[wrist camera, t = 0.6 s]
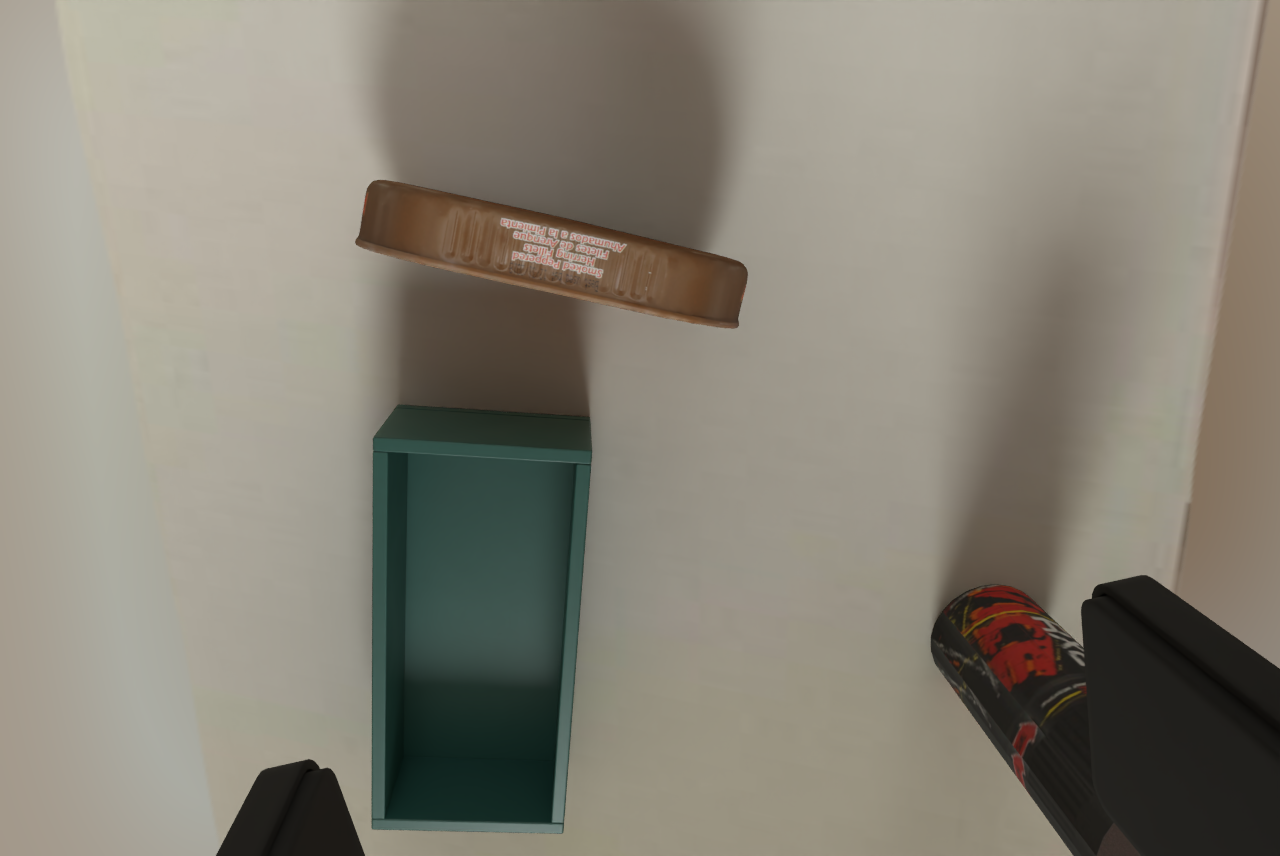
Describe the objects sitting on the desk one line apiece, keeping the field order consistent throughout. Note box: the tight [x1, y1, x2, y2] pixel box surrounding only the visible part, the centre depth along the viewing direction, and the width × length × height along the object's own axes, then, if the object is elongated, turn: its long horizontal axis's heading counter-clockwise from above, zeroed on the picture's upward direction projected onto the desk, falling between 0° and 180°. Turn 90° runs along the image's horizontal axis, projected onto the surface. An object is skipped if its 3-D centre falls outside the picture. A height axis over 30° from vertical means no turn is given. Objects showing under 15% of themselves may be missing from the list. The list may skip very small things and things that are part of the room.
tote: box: [372, 405, 592, 834], centre depth 40 cm, size 19×9×5 cm, turn 175°
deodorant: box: [931, 585, 1141, 856], centre depth 38 cm, size 6×6×15 cm
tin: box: [355, 180, 748, 329], centre depth 34 cm, size 15×3×8 cm, turn 77°
